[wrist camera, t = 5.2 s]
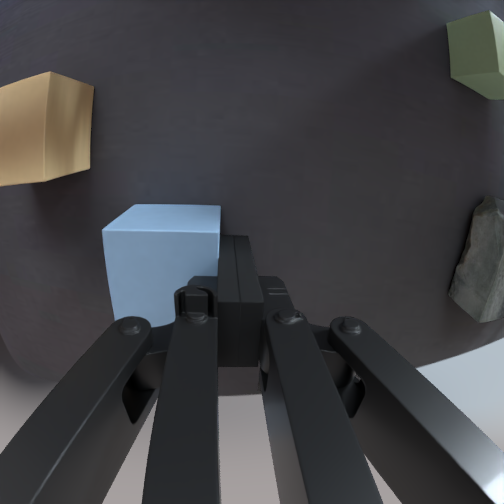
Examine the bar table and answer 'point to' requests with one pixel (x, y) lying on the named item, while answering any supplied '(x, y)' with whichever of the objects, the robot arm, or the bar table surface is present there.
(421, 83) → the bar table surface
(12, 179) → the maple block
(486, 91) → the sage block
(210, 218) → the blue block
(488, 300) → the stone block
